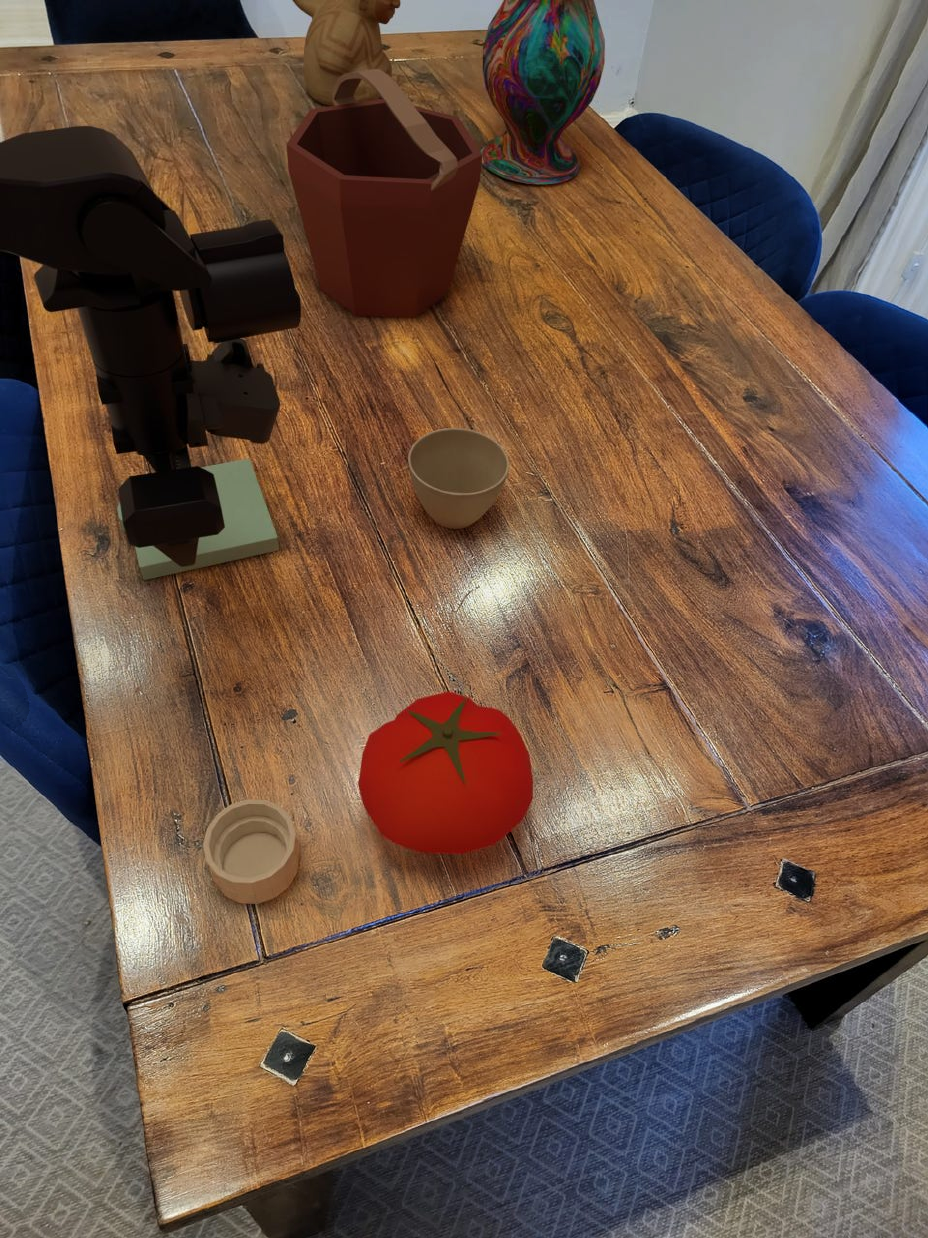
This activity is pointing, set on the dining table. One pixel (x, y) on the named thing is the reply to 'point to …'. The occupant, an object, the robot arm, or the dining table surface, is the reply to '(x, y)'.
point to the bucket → (383, 197)
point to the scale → (242, 518)
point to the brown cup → (457, 474)
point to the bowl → (252, 851)
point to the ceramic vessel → (344, 44)
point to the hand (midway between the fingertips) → (179, 522)
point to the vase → (540, 84)
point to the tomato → (446, 776)
